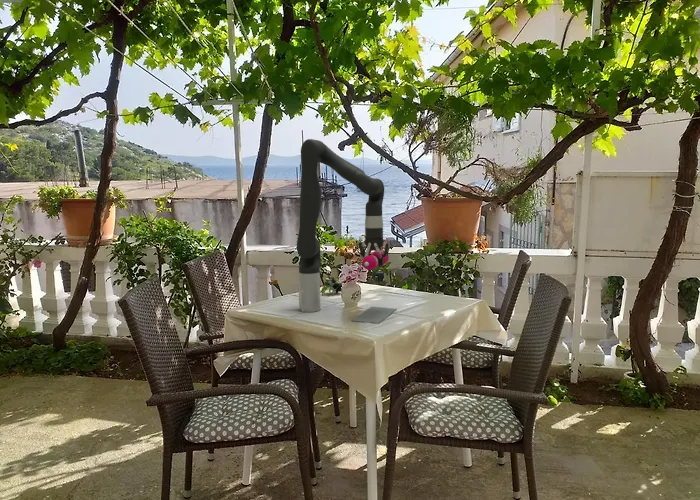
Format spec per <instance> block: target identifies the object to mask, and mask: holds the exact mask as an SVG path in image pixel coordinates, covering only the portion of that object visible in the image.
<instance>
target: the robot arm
mask: <svg viewBox="0 0 700 500" xmlns="http://www.w3.org/2000/svg"><path fill="white" fill-rule="evenodd" d="M300 163H301V167H300V168H301V176H300V177H301V178H300V193H299V228H298V233H297V234H298V235H297V236H298V237H297V241H296V252H297V254H298V255H299V258H300V261H299V265H298V275H299V276H298V277H299V278H298V281H299V286H298V287H299V288H298V308H299V309H298V310H299V311H300V312H302V313H304V312H305V313H306V312H307V313H311V312H312V313H314V312H318V311H320V310H322V308H321V304H322V303H321V293H320V292H321V274H320V272H321V271H320V268H321V244H320V243H321V242H320V241H319V239H318V238H317V237H316V235H317V234H316V233H317V232H316V231H317V222H318V220H319V216H320V212H321V209H322V208H321V207H322V188H321V183H320V181H319V176H318V165H319V163H321V164H323V165H325V166H327V167H329V168H331V169H332V170H333V171H334V172H336V174H338V175H339V176H340V177H341V178H342V179H344V180H346V181H347V182H349V183H350V184H352V185H354V186H355V187H356V188H358V190H360V191H361V193H364V194H365V195H367V196H368V201H367V202H366V203H365V209H364V210H365V219H364V237H365V239H364V240H363V241H359V242H357V244H358V245H357V246H358V248H359V253H360V256H361V257H363V258H364V257H366V256H368V255H371V254H372V251H373V252H374V251H377V253H378V255H379V267H378V268H382V267H383V266H384V265H383V258H384V257H386V256H389V251H390V248H391V243H390V242H386V241H384V219H383V218H384V217H383V202H384V198H385V197H384V196H385V185H384V182H383V181H382V180H381V179H380V178H373V177H371V176H369V175H367V174H366V173H365V171H364V170H363V169H361V168H359V167H358V166H357V165H355V164H353V163H351V162H349V161H348V160H346V159H344V158H343V157H341V156H340V155H338V154H336V152H334V151H333V150H332V149H331V148H330V147H328V145H326V144H325V143H324V142H323V141H321V140H317V139H313V138H308V139H305V140H304V141H303V142H302V145H301V147H300ZM365 246H366V249H365ZM382 247H384V254H383V251H382V250H383V248H382Z"/></svg>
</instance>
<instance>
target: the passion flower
mask: <svg viewBox="0 0 700 500" xmlns="http://www.w3.org/2000/svg"><path fill="white" fill-rule="evenodd" d="M339 278H340V277H339V276H336V275H335V276H332V277H331V278H325V279H324V280H325V281H324V282H323V283H324V284H323V286H322V288H321V289H320V294H322V295H324V294H325V292H326V291H328V293H329V294H331V293H332V295H331V297H333V296H334V294H335V293H336V294H338V293H341V290H342V289H341V287H342V283H343V282H342V283H340V282H339ZM331 291H332V292H331Z"/></svg>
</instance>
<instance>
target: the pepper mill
mask: <svg viewBox="0 0 700 500" xmlns="http://www.w3.org/2000/svg"><path fill="white" fill-rule="evenodd" d="M384 250H385V249H384ZM384 250H383V249H382V251H383V254H384ZM389 258H390V257H389V255H388V256H386V257H384V258H383V266H385V265H386V264H387V262H388V261H389ZM361 264H362V267H363V268H364V269H365V270H368V271H371V270H374V269H375V268H376V267H377V268H380V267H379V255H378V253H377V251H374V250H373V252H371V253H370V255H368V256H366V257H364V256H363V259H362V262H361Z"/></svg>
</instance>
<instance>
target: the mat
mask: <svg viewBox="0 0 700 500" xmlns="http://www.w3.org/2000/svg"><path fill="white" fill-rule="evenodd" d="M397 309H398V308H392V307H380V306H371V307H369V308H368V309H366V310H365V311H363V312H362V313H361V314H359V315H357V316H355V318H353V319H351V322H355V321H359V322H358V323H365V322H370V323H369V324H376V323H378V324H379V323H380V324H381V323H382V322H383V321H384V320H386V319H388V317H390V316H391V315H392V314H393V313H395V312H396V311H397ZM380 324H379V325H380Z"/></svg>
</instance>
